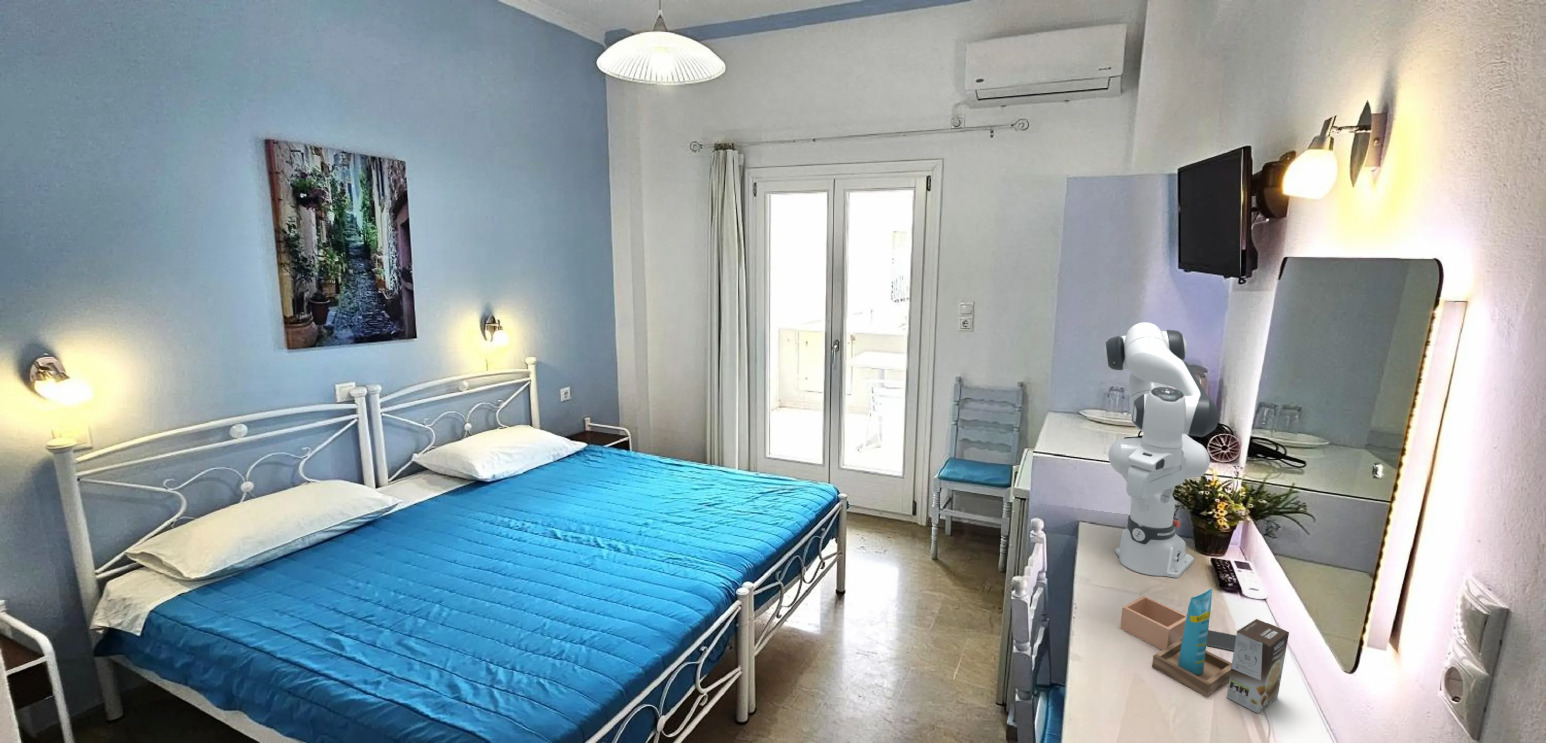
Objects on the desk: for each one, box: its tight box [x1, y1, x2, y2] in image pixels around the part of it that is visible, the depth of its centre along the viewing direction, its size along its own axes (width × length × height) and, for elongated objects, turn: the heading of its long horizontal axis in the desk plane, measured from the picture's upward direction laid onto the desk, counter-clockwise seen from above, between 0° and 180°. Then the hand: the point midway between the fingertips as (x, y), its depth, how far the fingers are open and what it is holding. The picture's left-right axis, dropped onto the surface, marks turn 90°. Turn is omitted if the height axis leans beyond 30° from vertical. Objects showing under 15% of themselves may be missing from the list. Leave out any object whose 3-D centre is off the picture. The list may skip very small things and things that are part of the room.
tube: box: [1178, 587, 1213, 675], centre depth 151 cm, size 7×5×19 cm, turn 123°
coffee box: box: [1226, 618, 1290, 714], centre depth 144 cm, size 9×6×16 cm
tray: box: [1151, 638, 1232, 698], centre depth 154 cm, size 12×12×3 cm
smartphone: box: [1206, 629, 1237, 653], centre depth 164 cm, size 7×1×15 cm
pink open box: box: [1119, 595, 1187, 651], centre depth 168 cm, size 10×12×6 cm
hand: (1154, 506), depth 168 cm, fingers open, 8 cm apart
